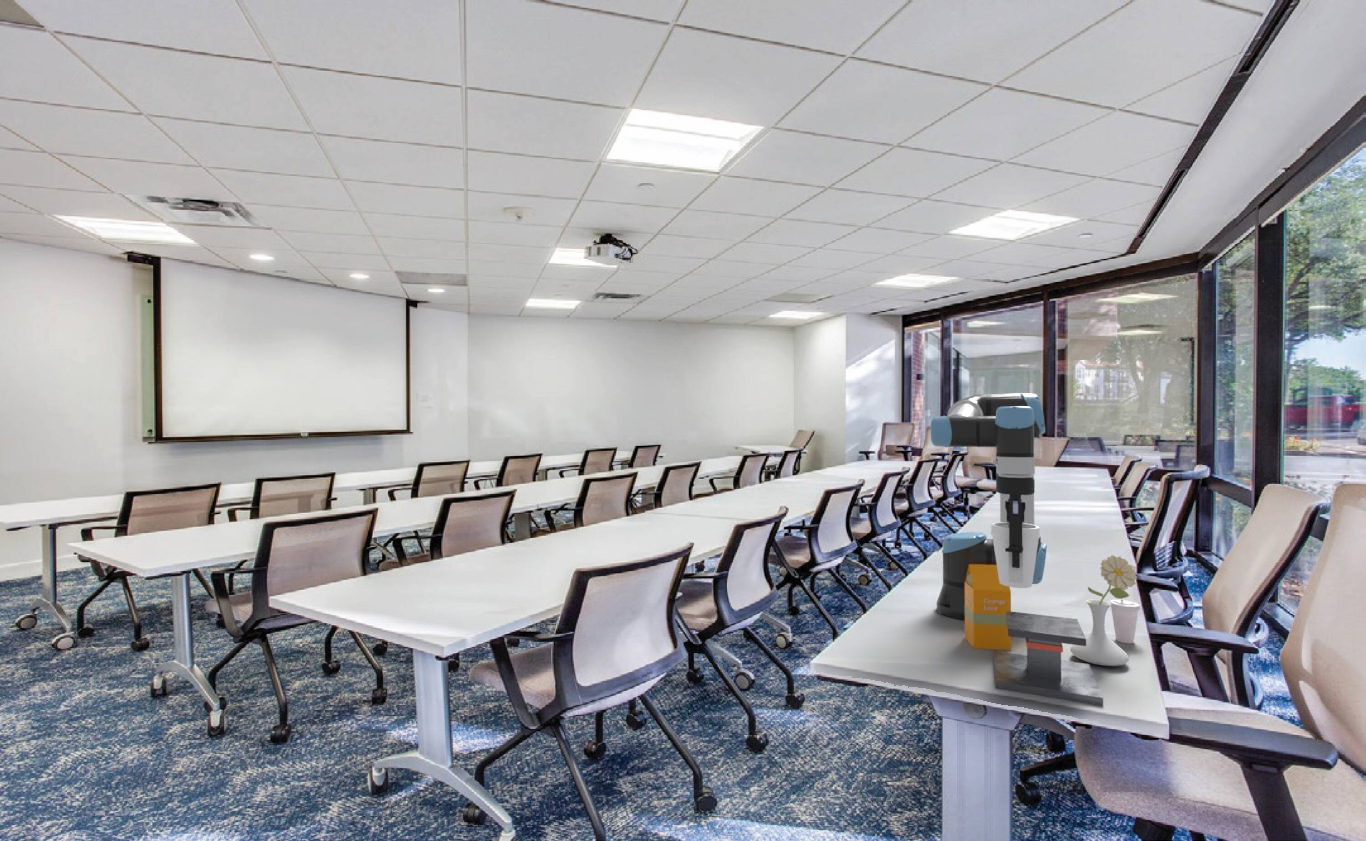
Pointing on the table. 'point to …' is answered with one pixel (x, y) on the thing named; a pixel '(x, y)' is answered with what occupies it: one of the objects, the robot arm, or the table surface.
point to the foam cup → (1002, 558)
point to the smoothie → (1124, 619)
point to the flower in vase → (1097, 642)
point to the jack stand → (1046, 660)
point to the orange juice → (986, 608)
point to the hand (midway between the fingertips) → (1015, 577)
